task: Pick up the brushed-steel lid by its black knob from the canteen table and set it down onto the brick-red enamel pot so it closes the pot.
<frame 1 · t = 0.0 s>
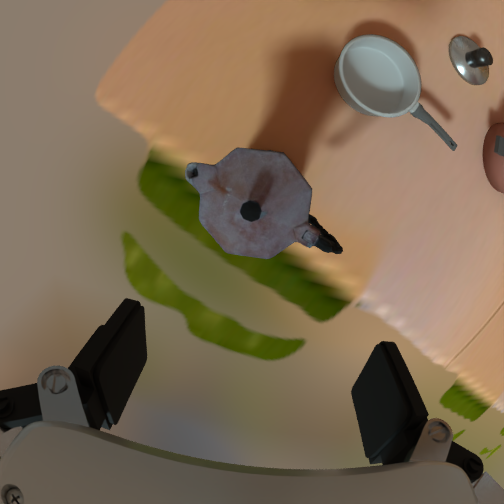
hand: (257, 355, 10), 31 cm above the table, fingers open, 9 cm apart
saucepan: (390, 100, 33), on the table
moka pot: (269, 181, 39), on the table
lid: (467, 61, 28), on the table
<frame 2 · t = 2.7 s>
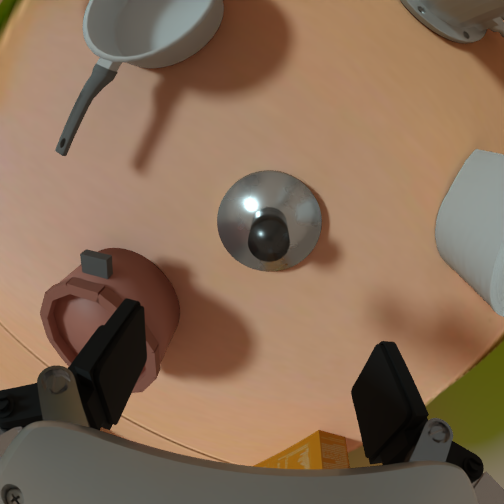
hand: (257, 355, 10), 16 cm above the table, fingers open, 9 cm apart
toilet tissue: (468, 218, 24), on the table
cereal box: (290, 456, 43), on the table
saucepan: (143, 57, 20), on the table
pot: (126, 300, 30), on the table
lid: (269, 220, 25), on the table
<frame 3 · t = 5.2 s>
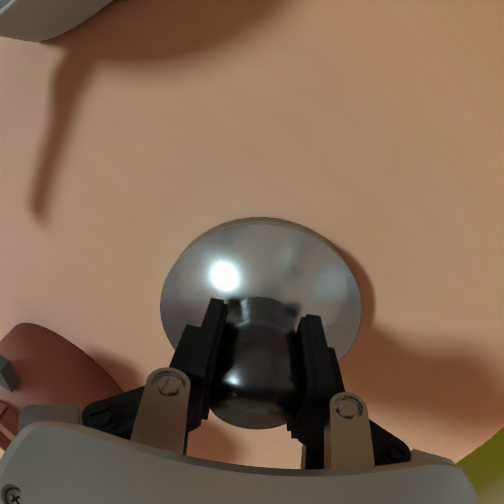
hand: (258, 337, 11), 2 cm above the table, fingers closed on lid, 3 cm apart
saucepan: (46, 26, 8), on the table
pot: (66, 386, 18), on the table
lid: (260, 310, 13), on the table, touching gripper
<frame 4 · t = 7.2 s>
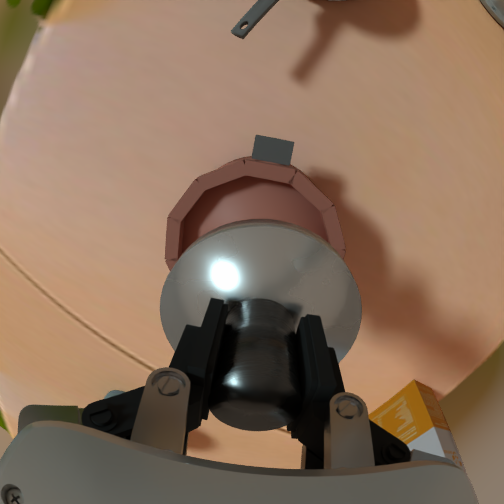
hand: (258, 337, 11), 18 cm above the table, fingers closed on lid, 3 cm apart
cereal box: (374, 420, 41), on the table
pot: (258, 222, 28), on the table
lid: (260, 312, 13), point 16 cm above the table, touching gripper
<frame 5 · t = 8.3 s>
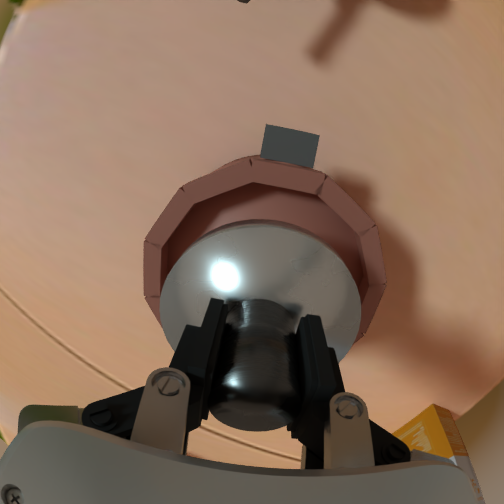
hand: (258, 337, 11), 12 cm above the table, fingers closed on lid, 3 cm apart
cereal box: (387, 444, 35), on the table
pot: (265, 239, 22), on the table
lid: (260, 312, 13), point 10 cm above the table, touching gripper
when the fingers open (10 cm above the table, at t = 9.3 s): lid stays where it is, resting on pot.
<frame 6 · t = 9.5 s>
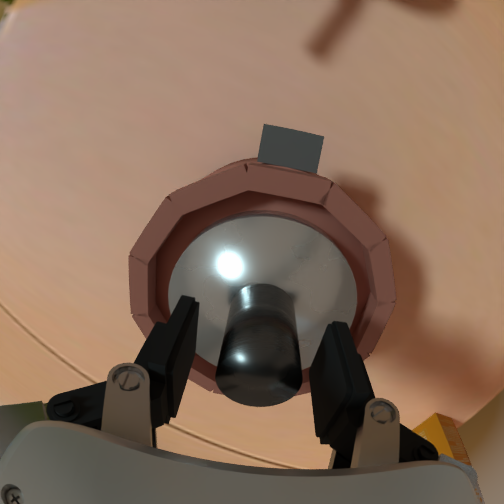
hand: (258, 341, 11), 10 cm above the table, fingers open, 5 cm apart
cereal box: (388, 453, 33), on the table
pot: (263, 248, 21), on the table
lid: (262, 298, 14), point 7 cm above the table, touching pot
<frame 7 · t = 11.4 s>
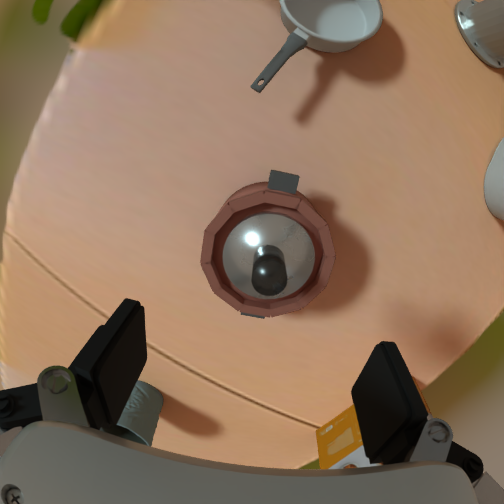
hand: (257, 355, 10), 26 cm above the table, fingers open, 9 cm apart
toilet tissue: (501, 182, 30), on the table
cereal box: (363, 406, 48), on the table
saucepan: (304, 40, 26), on the table
pot: (267, 234, 35), on the table
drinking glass: (142, 392, 49), on the table
lid: (268, 254, 29), point 7 cm above the table, touching pot
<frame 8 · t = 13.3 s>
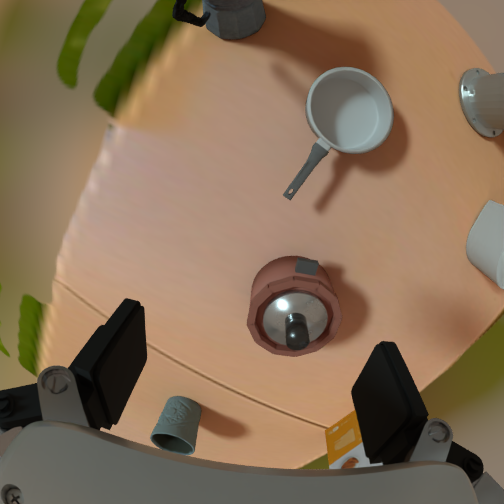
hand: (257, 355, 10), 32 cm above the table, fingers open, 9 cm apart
toilet tissue: (483, 237, 40), on the table
cereal box: (363, 411, 59), on the table
saucepan: (324, 135, 37), on the table
moka pot: (235, 19, 30), on the table
pot: (291, 292, 46), on the table
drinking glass: (183, 405, 60), on the table
lid: (295, 316, 40), point 7 cm above the table, touching pot
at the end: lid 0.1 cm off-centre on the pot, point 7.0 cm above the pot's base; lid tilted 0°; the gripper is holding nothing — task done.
